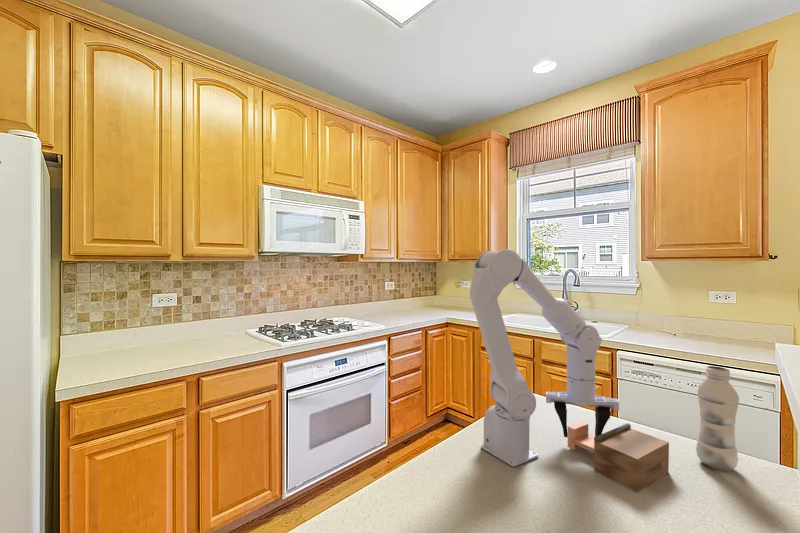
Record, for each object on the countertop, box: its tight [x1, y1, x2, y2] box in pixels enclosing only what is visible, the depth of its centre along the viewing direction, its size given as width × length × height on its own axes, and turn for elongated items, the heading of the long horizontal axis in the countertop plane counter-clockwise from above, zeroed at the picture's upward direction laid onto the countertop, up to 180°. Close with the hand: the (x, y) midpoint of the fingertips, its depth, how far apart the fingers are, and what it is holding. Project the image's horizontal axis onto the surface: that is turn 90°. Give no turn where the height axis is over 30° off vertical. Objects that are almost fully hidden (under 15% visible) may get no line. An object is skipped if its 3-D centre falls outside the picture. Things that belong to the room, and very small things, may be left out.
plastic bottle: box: [695, 365, 740, 472], centre depth 75 cm, size 6×7×20 cm
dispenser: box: [593, 422, 670, 493], centre depth 73 cm, size 8×12×7 cm
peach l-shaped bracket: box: [567, 420, 595, 453], centre depth 78 cm, size 14×5×5 cm, turn 32°
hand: (581, 437), depth 83 cm, fingers open, 6 cm apart
